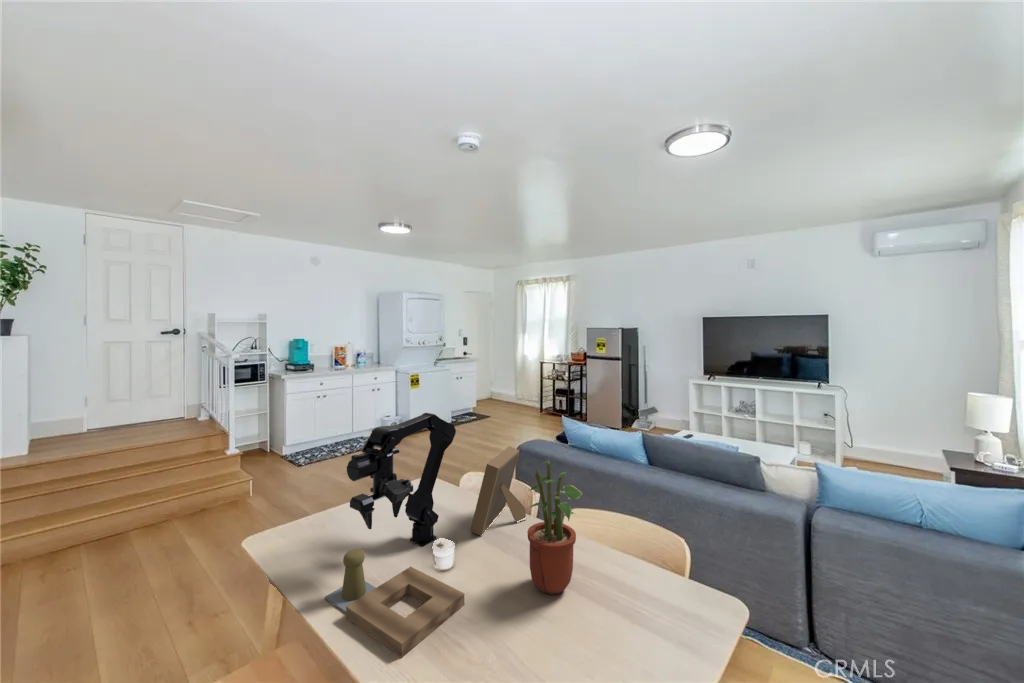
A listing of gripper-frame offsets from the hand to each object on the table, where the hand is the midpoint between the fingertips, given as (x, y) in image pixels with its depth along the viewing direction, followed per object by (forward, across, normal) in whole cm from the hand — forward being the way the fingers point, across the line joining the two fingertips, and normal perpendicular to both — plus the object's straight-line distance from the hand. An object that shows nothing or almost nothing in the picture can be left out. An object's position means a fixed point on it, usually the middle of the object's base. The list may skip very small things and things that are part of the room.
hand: (383, 522), depth 120 cm
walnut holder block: (+12, -10, -22) cm, 27 cm away
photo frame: (+12, +40, -14) cm, 45 cm away
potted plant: (+12, +21, -45) cm, 51 cm away
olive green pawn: (+12, -14, -6) cm, 19 cm away
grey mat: (+12, -14, -6) cm, 19 cm away
